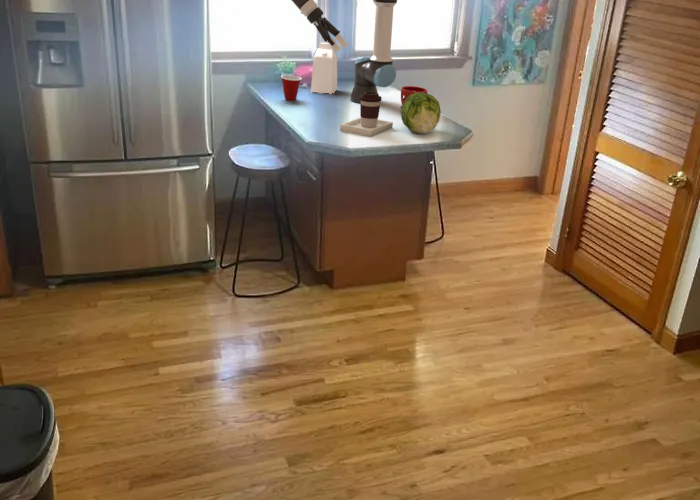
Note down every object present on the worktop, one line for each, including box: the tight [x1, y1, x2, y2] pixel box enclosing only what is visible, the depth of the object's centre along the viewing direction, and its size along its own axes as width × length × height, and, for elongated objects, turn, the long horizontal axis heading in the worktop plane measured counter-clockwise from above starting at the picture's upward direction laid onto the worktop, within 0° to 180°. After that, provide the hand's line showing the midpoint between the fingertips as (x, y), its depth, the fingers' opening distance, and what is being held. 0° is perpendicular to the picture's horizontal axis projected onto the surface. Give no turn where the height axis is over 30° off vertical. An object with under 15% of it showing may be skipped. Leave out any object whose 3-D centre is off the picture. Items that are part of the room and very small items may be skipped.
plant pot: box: [400, 85, 428, 110], centre depth 366 cm, size 13×13×12 cm
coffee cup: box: [359, 92, 383, 128], centre depth 330 cm, size 10×10×15 cm
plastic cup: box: [280, 74, 303, 102], centre depth 378 cm, size 11×11×12 cm
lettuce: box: [400, 93, 442, 135], centre depth 329 cm, size 18×23×19 cm
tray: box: [339, 116, 394, 138], centre depth 331 cm, size 20×16×3 cm
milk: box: [310, 42, 338, 95], centre depth 398 cm, size 12×12×26 cm
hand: (342, 48), depth 336 cm, fingers open, 13 cm apart
